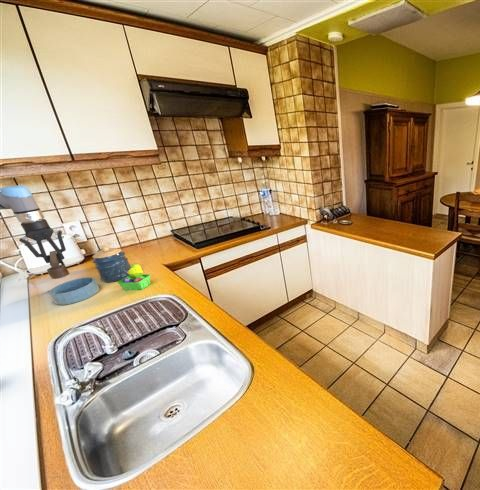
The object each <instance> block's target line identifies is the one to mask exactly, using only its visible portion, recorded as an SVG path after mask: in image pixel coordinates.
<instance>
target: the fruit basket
mask: <svg viewBox="0 0 480 490" xmlns="http://www.w3.org/2000/svg"><path fill="white" fill-rule="evenodd" d="M130 266H131V269H129V271H128V274H129V275H130V276H127V277H126V278H124V279H121V280H118V281H116V284H118V285H119V286H120V287H121V288H122V289H124V291H142V290H144V289H145V288H147V287H149V286H150V285H151V274H150V273H149V274H147V273H146V274H143V269H142V267H141V265H139V264H138V263H133V264H131V265H130Z"/></svg>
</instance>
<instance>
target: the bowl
mask: <svg viewBox="0 0 480 490" xmlns="http://www.w3.org/2000/svg"><path fill="white" fill-rule="evenodd" d="M99 291H100V286H99V284H98V283H97V281H96V279H95V277H92V276H86V277H79V278H75V279H71V280H68V281H65V282H63V283H60V284H58V285H56V286H55V287H53V288H51V289H50V290H49V291H48V295H49V296H50V299H52V302H53V303H54V304H55V305H60V306H61V305H62V306H65V305H72V304H76V303H79V302H81V301H84V300H88V298H89V299H90V298H91V297H92V296H94V295H96V294H97V293H98V292H99Z"/></svg>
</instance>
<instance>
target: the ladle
mask: <svg viewBox="0 0 480 490" xmlns="http://www.w3.org/2000/svg"><path fill="white" fill-rule="evenodd" d="M56 253H57V252H56V251H55V250H51V251H49V256H50V263H49V266H50V267H49V268H47V269H46V272H47V274H48V275H49V277H50V278H51V279H52V280H57V279H61V278H65V277H66V276H68V275H70V271H69V270H68V268H67V266H66V264H65V265H61V263H60V261H59V259H58V257H57V256H56Z"/></svg>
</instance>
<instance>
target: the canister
mask: <svg viewBox="0 0 480 490" xmlns="http://www.w3.org/2000/svg"><path fill="white" fill-rule="evenodd" d="M101 249H102V250H101V251H98V250H97V251H98V252H97V251H96V252H95V253H94V254H93V255H92V256H91V257H92V261H91V262H92V263H93V264H94V265H95V267H94V269H96V271H97V273H98V275H99V276H100V279H101V280H102V282H104V283H114V282H119V281H120V280H122V279H124V278H126V277H127V276H130V275H129V274H128V271H129V269H131V266H132V265H131V264H130V262H129V259H128V257H126V252H124V251H122V249H121V248H117V247H108V246H103V247H101Z"/></svg>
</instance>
